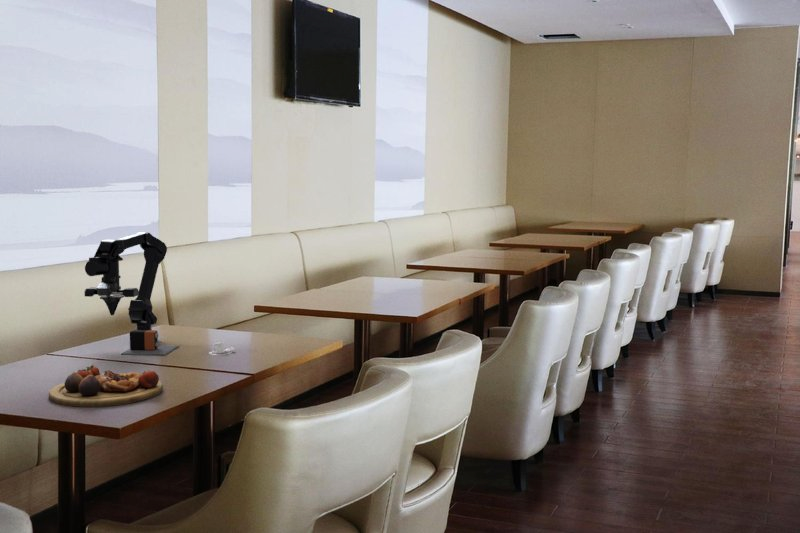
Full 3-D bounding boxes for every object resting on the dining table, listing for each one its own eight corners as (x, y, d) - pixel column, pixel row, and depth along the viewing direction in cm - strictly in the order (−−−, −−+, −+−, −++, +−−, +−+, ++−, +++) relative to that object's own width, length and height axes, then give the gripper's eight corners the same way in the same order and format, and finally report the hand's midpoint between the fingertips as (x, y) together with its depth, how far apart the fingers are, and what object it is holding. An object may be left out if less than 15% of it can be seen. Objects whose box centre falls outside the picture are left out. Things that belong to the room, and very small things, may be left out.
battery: (129, 350, 326) (156, 350, 325) (129, 331, 325) (155, 332, 324) (134, 347, 330) (160, 348, 329) (133, 329, 330) (160, 330, 329)
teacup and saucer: (236, 352, 328) (235, 341, 327) (229, 356, 320) (229, 345, 319) (212, 351, 329) (212, 340, 328) (205, 356, 321) (205, 344, 320)
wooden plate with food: (182, 385, 276) (182, 359, 275) (124, 412, 245) (123, 382, 244) (92, 379, 284) (91, 353, 283) (25, 404, 254) (23, 375, 253)
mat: (137, 346, 336) (137, 344, 336) (179, 346, 335) (179, 345, 335) (121, 354, 320) (121, 353, 320) (164, 355, 319) (164, 354, 319)
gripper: (77, 275, 325) (78, 318, 326) (127, 276, 323) (128, 319, 325) (90, 272, 336) (91, 313, 337) (138, 272, 334) (139, 314, 336)
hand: (112, 315), depth 334 cm, fingers closed
